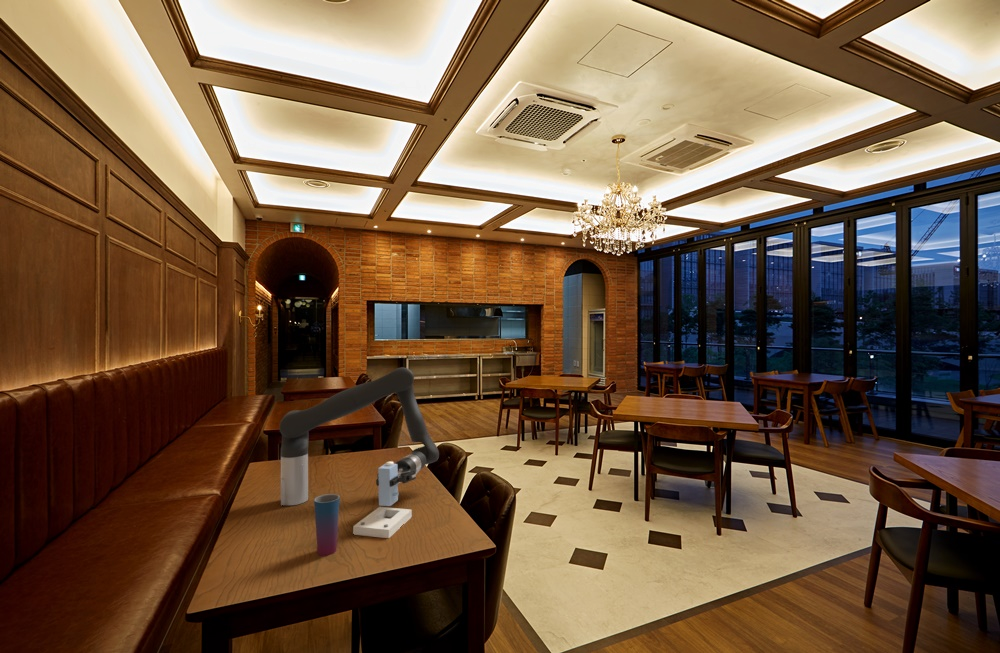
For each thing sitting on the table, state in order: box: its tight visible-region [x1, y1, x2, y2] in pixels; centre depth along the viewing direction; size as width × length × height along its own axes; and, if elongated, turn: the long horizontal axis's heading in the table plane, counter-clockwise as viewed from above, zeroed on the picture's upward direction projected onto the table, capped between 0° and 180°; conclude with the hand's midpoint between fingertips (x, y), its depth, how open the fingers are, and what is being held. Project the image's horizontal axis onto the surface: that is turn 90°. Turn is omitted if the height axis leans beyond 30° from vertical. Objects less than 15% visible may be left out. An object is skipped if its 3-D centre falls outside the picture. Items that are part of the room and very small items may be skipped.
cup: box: [313, 493, 340, 556], centre depth 127 cm, size 7×7×15 cm
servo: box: [377, 460, 400, 507], centre depth 147 cm, size 6×7×13 cm
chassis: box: [352, 506, 413, 539], centre depth 144 cm, size 16×12×3 cm
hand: (384, 483), depth 144 cm, fingers closed on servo, 4 cm apart
